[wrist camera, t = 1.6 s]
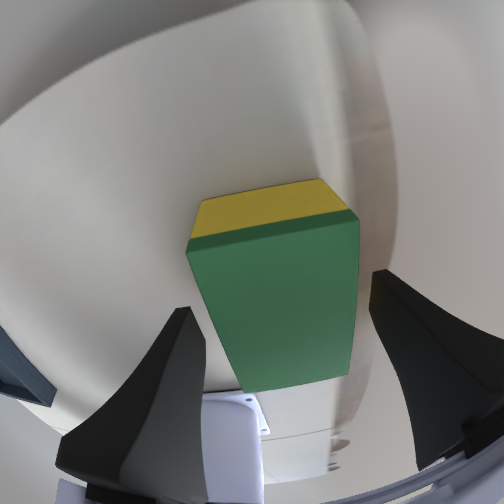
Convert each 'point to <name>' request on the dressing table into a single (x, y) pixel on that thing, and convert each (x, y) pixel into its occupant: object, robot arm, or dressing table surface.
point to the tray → (22, 376)
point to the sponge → (279, 281)
